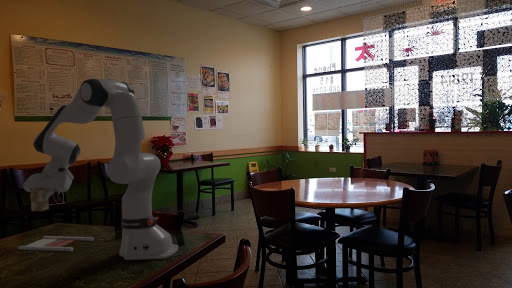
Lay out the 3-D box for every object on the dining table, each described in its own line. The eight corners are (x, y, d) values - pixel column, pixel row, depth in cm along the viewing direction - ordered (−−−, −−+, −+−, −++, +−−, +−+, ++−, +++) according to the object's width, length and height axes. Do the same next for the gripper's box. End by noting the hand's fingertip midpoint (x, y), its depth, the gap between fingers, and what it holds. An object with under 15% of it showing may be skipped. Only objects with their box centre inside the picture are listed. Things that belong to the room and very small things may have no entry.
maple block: (48, 208, 157) (47, 189, 157) (41, 211, 153) (40, 191, 152) (39, 208, 158) (38, 189, 157) (31, 210, 153) (30, 191, 153)
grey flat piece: (93, 239, 160) (93, 237, 160) (71, 251, 145) (71, 248, 145) (44, 238, 164) (44, 236, 164) (18, 249, 149) (18, 246, 149)
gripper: (29, 168, 163) (12, 194, 154) (70, 169, 160) (56, 194, 151) (37, 177, 167) (21, 202, 158) (77, 177, 164) (63, 203, 155)
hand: (38, 198), depth 154 cm, fingers closed on maple block, 4 cm apart
